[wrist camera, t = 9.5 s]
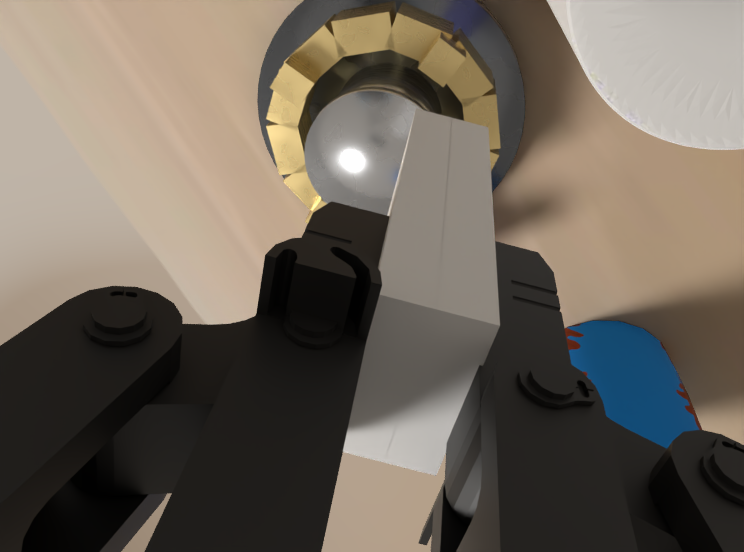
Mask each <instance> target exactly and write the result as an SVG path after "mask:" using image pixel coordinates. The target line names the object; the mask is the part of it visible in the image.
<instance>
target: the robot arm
mask: <svg viewBox="0 0 744 552" xmlns="http://www.w3.org/2000/svg"><path fill="white" fill-rule="evenodd" d="M556 294H557V288H556V283H555V278H554V272H553V271H552V270H551V269H550V267H549V266H548V265H547V263H546V262H545V261H544V259H543V258H542V257H541V256H540V254H539V253H538V252H534V251H530V250H526V249H523V248H519V247H515V246H511V245H507V244H503V243H500V242H496V241H495V232H494V215H493V198H492V181H491V164H490V147H489V130H488V127H485V126H482V125H478V124H474V123H470V122H466V121H462V120H459V119H455V118H451V117H447V116H443V115H439V114H436V113H432V112H428V111H424V110H420V109H417V108H416V110H415V113H414V117H413V121H412V125H411V128H410V132H409V136H408V140H407V143H406V147H405V151H404V155H403V159H402V162H401V166H400V170H399V174H398V177H397V181H396V185H395V189H394V192H393V196H392V200H391V204H390V207H389V211H388V215H383V214H379V213H375V212H371V211H367V210H364V209H360V208H356V207H352V206H348V205H344V204H341V203H337V202H333V201H331V202H330V203H328V204H326V205H325V206H323V207H321V208H320V209H318V210H316V211H315V212H313V214H312V216H311V218H310V220H309V223H308V225H307V227H306V229H305V232H304V234H303V236H302V238H292V239H289V240H287V241H284V242H281V243H279V244H276V245H275V246H274V247H273V248H272V249H271V250H270V251H269V252H268V253H267V254H266V255H265V261H264V267H263V274H262V281H261V288H260V294H259V301H258V308H257V314H256V316H254V317H252V318H250V319H247V320H245V321H240V322H236V323H231V324H218V325H201V324H182V316H181V314H180V313H179V311H178V309H177V308H176V306H175V305H174V303H172V302H171V301H169V300H168V299H166V298H164V297H163V296H161V295H160V294H158V293H156V292H152V291H148V290H145V289H142V288H138V287H124V286H110V287H105V288H100V289H94V290H89V291H87V292H84V293H82V294H80V295H78V296H76V297H74V298H72V299H69V300H68V301H66V302H65V303H63V304H62V305H60V306H59V307H57V308H56V309H54V310H53V311H51V312H50V313H48V314H47V315H46V316H44V317H42V318H41V319H39V320H38V321H37V322H35V323H33V324H32V325H31V326H29V327H28V328H26V329H25V330H23V331H22V332H20V333H19V334H18V335H16V336H14V337H13V338H11V339H10V340H8V341H7V342H5V343H4V344H2V345H1V346H0V552H121V551H122V550H123V549H124V547H125V546H126V545H127V544H128V542H129V541H130V540H131V539H132V538H133V536H134V535H135V534H136V533H137V532H138V530H139V529H140V528H141V527H142V525H143V524H144V523H145V522H146V520H147V519H148V518H149V517H150V516H151V514H152V513H153V512H154V511H155V510H156V509H157V507H158V506H159V505H160V504H161V503H162V501H163V500H164V498H165V496H166V494H167V493H172V495H171V497H170V499H169V501H168V503H167V505H166V507H165V509H164V512H163V514H162V516H161V518H160V520H159V523H158V525H157V526H156V529H155V531H154V533H153V535H152V537H151V539H150V541H149V543H148V546H147V548H146V550H145V552H321V549H322V546H323V541H324V536H325V532H326V527H327V522H328V518H329V513H330V508H331V504H332V499H333V495H334V489H335V485H336V481H337V476H338V471H339V467H340V462H341V457H342V453H343V452H345V453H349V454H353V455H357V456H361V457H365V458H369V459H373V460H377V461H380V462H384V463H388V464H392V465H396V466H400V467H404V468H408V469H412V470H416V471H420V472H424V473H428V474H432V475H435V476H436V474H437V472H438V470H439V467H440V465H441V463H442V461H443V458H444V456H445V454H446V469H445V480H444V483H443V485H442V487H441V490H440V492H439V494H438V496H437V499H436V501H435V503H434V505H433V508H432V510H431V512H430V514H429V517H428V519H427V521H426V524H425V526H424V528H423V531H422V534H421V537H420V540H419V543H420V544H423V545H427V543H428V541H429V539H430V537H431V534H432V542H431V552H744V445H742V444H740V443H738V442H736V441H734V440H732V439H730V438H728V437H725V436H723V435H721V434H717V433H713V432H708V431H704V430H693V431H685V432H682V433H681V434H680V435H679V436H678V437H676V438H675V439H674V440H673V441H672V443H671V444H670V445H669V447H668V448H665V447H663V446H661V445H658V444H656V443H654V442H652V441H650V440H648V439H646V438H644V437H642V436H640V435H638V434H636V433H634V432H632V431H630V430H628V429H626V428H625V427H623V426H621V425H620V424H618V423H616V422H614V421H613V420H611V419H610V418H608V417H607V416H606V413H605V408H604V404H603V401H602V399H601V397H600V395H599V392H598V390H597V388H596V386H595V385H594V384H593V383H592V382H591V381H590V380H589V379H588V378H587V376H586V375H585V374H584V373H583V372H582V371H581V370H579V369H577V368H576V367H574V366H573V365H572V364H571V359H570V354H569V349H568V344H567V339H566V334H565V329H564V324H563V318H562V313H561V312H559V311H560V303H559V298H558V296H557V295H556Z"/></svg>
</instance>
